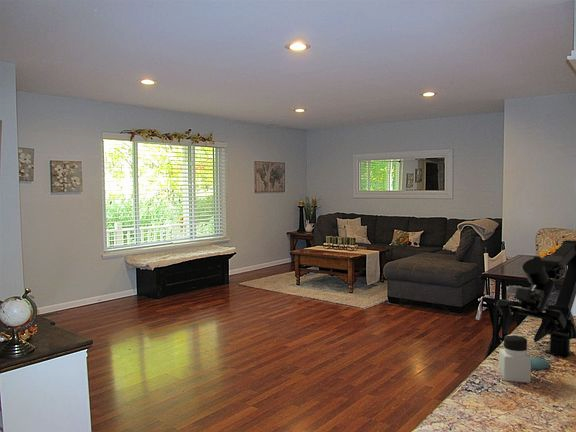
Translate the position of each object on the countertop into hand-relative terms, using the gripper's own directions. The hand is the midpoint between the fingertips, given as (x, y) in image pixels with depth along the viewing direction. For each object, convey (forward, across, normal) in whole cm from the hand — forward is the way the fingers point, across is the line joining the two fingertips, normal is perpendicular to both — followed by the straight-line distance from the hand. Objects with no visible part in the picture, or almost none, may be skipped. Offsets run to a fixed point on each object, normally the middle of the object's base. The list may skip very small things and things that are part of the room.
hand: (518, 337), depth 141 cm
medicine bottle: (+10, 0, +7) cm, 12 cm away
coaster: (-1, -2, +17) cm, 17 cm away
